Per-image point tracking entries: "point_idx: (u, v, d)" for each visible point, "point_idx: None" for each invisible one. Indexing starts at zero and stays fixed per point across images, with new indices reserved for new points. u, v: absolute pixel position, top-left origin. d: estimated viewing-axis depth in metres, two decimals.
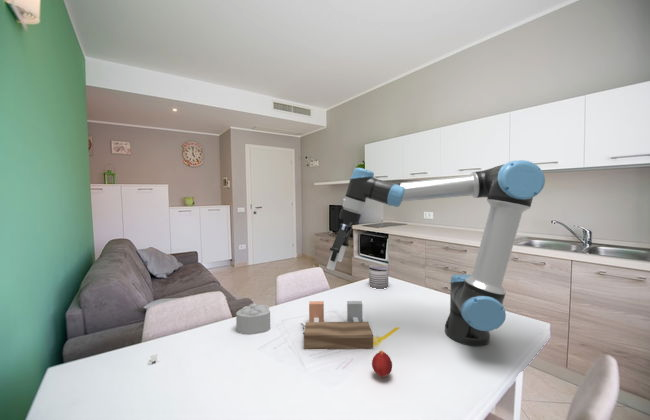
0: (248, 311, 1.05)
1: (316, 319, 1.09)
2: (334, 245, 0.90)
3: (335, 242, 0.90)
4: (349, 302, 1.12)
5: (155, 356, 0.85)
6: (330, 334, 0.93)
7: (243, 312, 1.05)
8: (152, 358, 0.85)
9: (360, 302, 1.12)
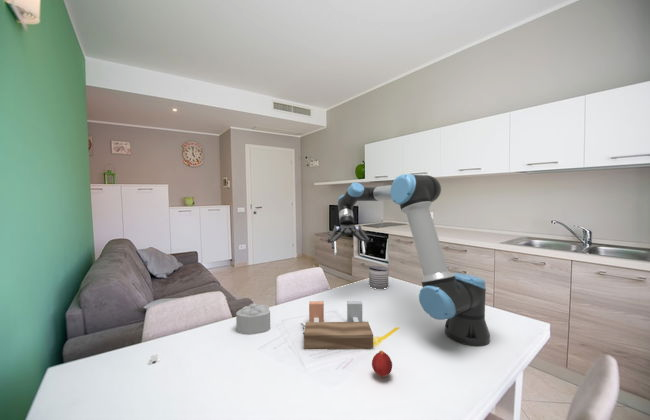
0: (248, 311, 1.05)
1: (316, 319, 1.09)
2: None
3: None
4: (349, 302, 1.12)
5: (155, 356, 0.86)
6: (330, 334, 0.93)
7: (243, 312, 1.05)
8: (152, 358, 0.85)
9: (360, 302, 1.12)
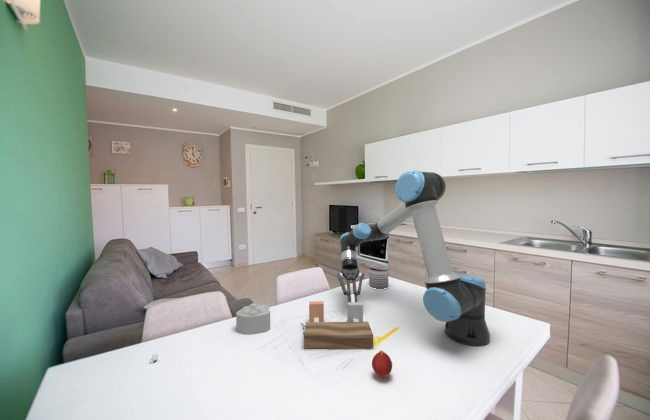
0: (248, 311, 1.05)
1: (316, 319, 1.09)
2: None
3: (342, 289, 1.21)
4: (349, 303, 1.11)
5: (156, 355, 0.86)
6: (330, 334, 0.93)
7: (243, 312, 1.05)
8: (153, 357, 0.85)
9: (360, 303, 1.11)
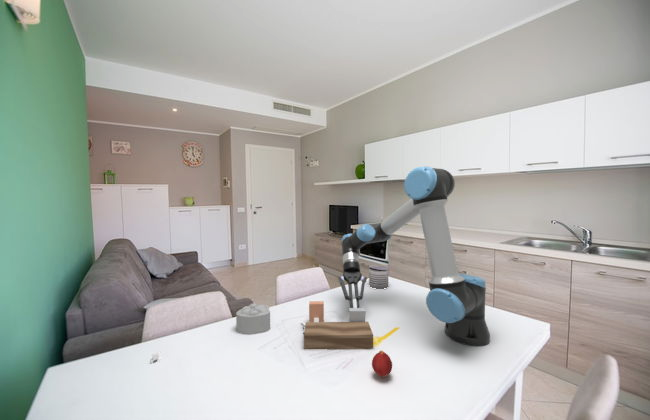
0: (248, 311, 1.05)
1: (316, 319, 1.09)
2: (344, 295, 1.14)
3: (343, 293, 1.15)
4: (351, 309, 1.05)
5: (156, 355, 0.86)
6: (330, 334, 0.93)
7: (243, 312, 1.05)
8: (153, 357, 0.86)
9: (363, 309, 1.05)
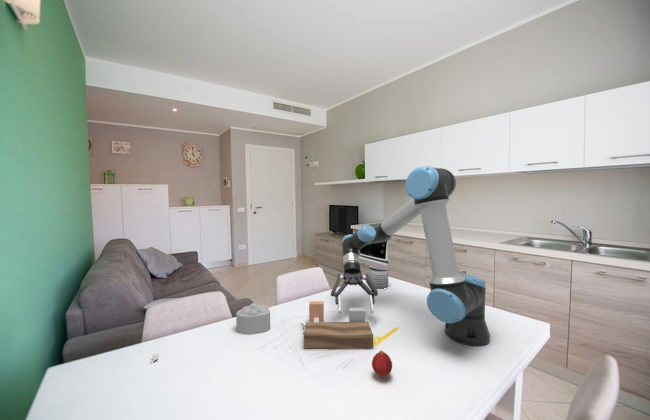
0: (248, 311, 1.05)
1: (316, 319, 1.09)
2: None
3: None
4: (351, 309, 1.05)
5: (157, 354, 0.86)
6: (330, 334, 0.93)
7: (243, 312, 1.05)
8: (154, 356, 0.86)
9: (363, 309, 1.05)
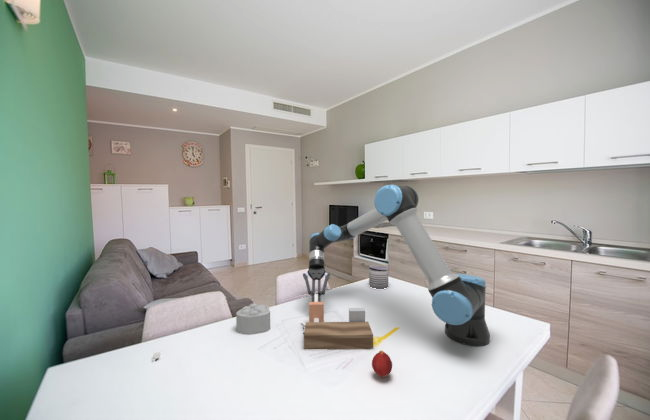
0: (248, 311, 1.05)
1: (316, 320, 1.08)
2: None
3: (307, 288, 1.21)
4: (351, 309, 1.05)
5: (158, 353, 0.87)
6: (330, 334, 0.93)
7: (243, 312, 1.05)
8: (155, 355, 0.86)
9: (363, 309, 1.05)
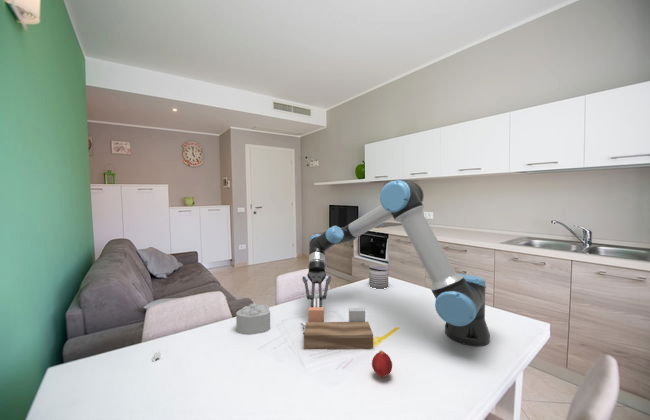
0: (248, 311, 1.05)
1: None
2: None
3: (306, 292, 1.16)
4: (351, 309, 1.05)
5: (158, 353, 0.87)
6: (330, 334, 0.93)
7: (243, 312, 1.05)
8: (155, 355, 0.87)
9: (363, 309, 1.05)
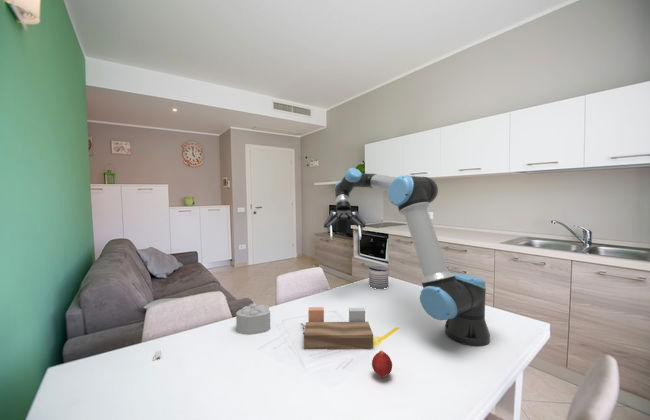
0: (248, 311, 1.05)
1: None
2: None
3: None
4: (351, 309, 1.05)
5: (159, 352, 0.88)
6: (330, 334, 0.93)
7: (243, 312, 1.05)
8: (156, 354, 0.87)
9: (363, 309, 1.05)
